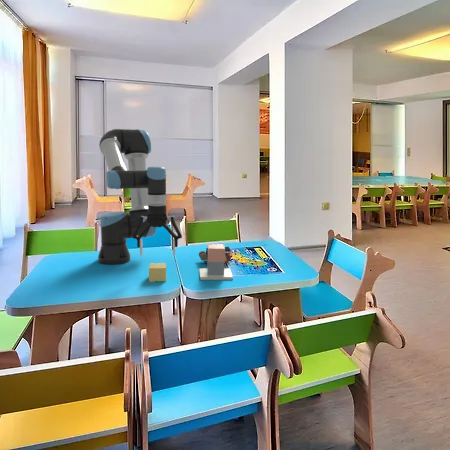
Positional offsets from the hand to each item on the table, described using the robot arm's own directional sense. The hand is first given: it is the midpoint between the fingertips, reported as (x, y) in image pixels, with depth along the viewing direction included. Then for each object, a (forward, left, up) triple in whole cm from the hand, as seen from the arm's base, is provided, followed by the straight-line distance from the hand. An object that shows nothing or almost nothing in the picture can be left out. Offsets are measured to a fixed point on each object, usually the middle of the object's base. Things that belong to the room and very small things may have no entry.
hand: (157, 254), depth 171 cm
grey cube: (+25, +4, -10) cm, 27 cm away
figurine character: (+26, +23, -11) cm, 37 cm away
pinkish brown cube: (+25, +4, -4) cm, 26 cm away
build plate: (+25, +4, -11) cm, 27 cm away
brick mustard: (0, 0, -11) cm, 11 cm away
